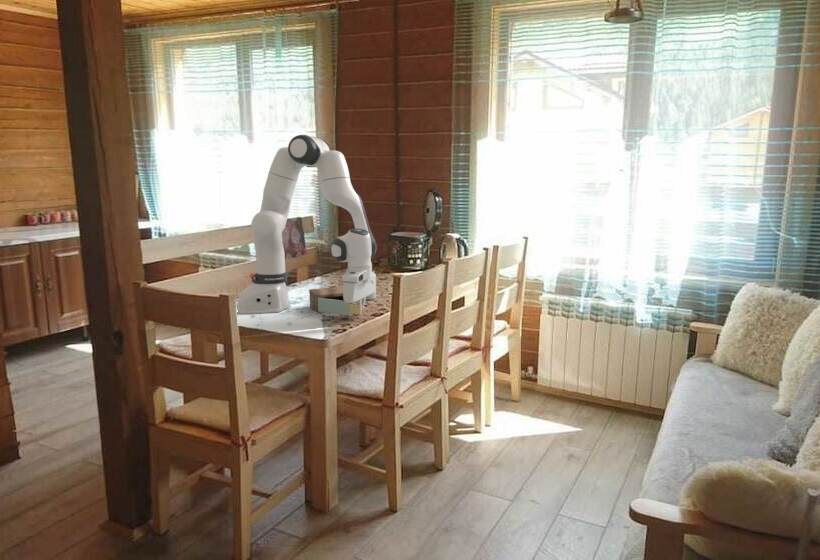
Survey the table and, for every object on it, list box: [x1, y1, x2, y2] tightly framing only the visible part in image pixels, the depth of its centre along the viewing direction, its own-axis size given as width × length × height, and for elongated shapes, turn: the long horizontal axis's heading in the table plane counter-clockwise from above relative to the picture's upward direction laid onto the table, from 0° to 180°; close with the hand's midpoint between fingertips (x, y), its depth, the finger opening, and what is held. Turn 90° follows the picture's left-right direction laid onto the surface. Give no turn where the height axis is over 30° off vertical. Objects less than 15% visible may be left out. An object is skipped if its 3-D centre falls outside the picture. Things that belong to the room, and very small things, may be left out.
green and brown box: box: [308, 286, 353, 314], centre depth 248 cm, size 14×12×7 cm
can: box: [366, 270, 377, 301], centre depth 265 cm, size 8×8×12 cm
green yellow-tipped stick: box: [318, 298, 363, 317], centre depth 235 cm, size 19×1×5 cm, turn 62°
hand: (360, 309), depth 233 cm, fingers closed
